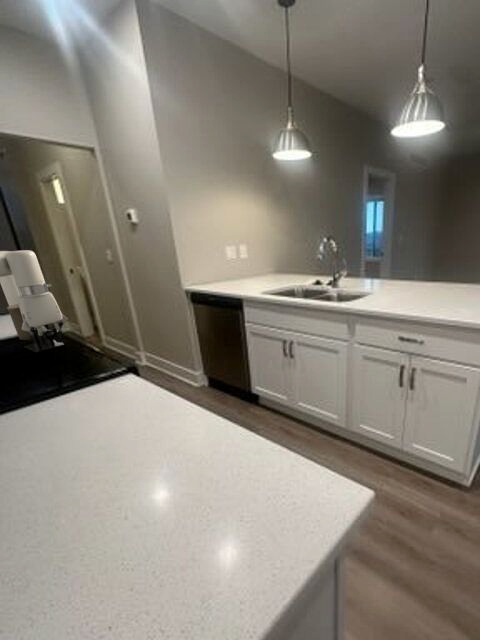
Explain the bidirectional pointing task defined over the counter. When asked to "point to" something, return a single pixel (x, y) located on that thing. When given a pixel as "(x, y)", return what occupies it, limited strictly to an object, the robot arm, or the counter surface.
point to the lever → (48, 333)
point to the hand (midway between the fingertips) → (52, 343)
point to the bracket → (37, 344)
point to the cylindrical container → (10, 289)
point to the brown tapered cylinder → (18, 322)
